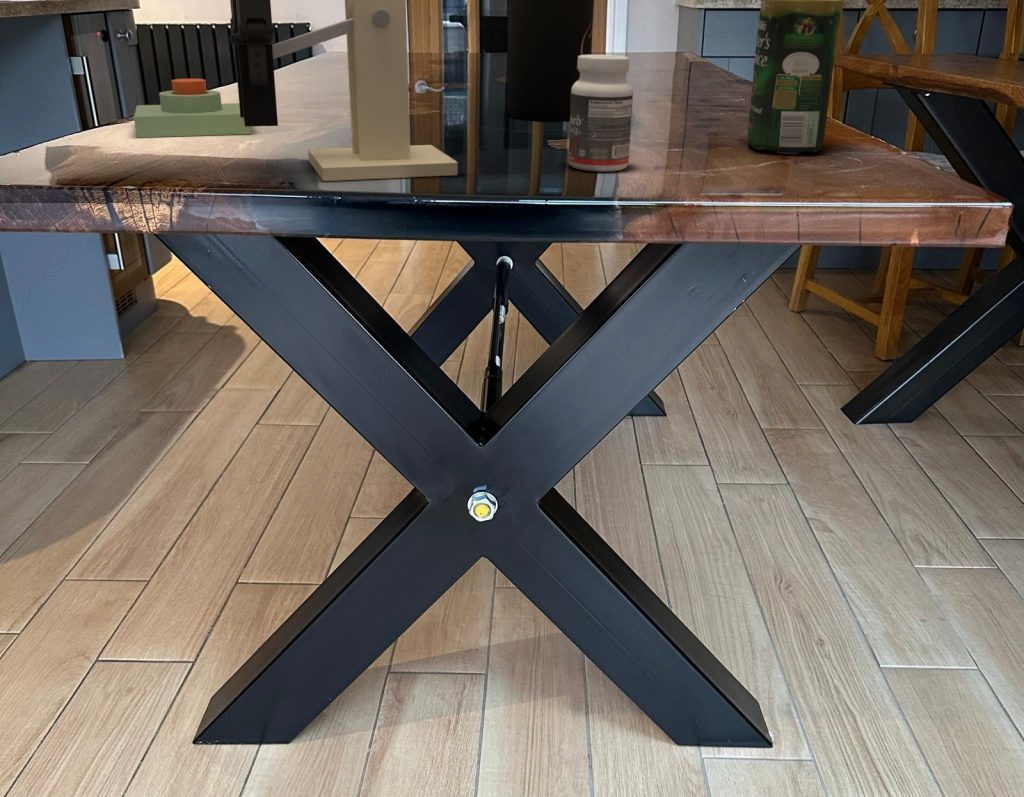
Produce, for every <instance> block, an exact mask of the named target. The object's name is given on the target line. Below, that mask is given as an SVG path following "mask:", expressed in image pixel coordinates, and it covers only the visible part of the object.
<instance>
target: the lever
mask: <svg viewBox="0 0 1024 797" xmlns="http://www.w3.org/2000/svg"><path fill="white" fill-rule="evenodd" d="M351 32H354V31H353V18H350V19H347V20H346V19H344V20H342V21H341V20H340V21H339V22H335V23H333V24H329V25H327V26H324V27H320V28H317V29H315V30H311V31H309V32H306V33H303V34H300V35H297V36H295V37H291V38H288V39H285V40H282V41H279V42H276V43H274V44H272V50H273V60H274V59H277V58H280V57H283V56H287V55H289V54H292V53H296V52H298V51H301V50H304V49H307V48H310V47H313V46H316V45H319V44H322V43H324V42H328V41H330V40H333V39H336V38H340V37H342V36H345V35H346V34H348V33H351Z"/></svg>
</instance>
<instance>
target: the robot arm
mask: <svg viewBox="0 0 1024 797" xmlns="http://www.w3.org/2000/svg"><path fill="white" fill-rule="evenodd" d="M229 3H230V4H229V5H230V13H231V14H230V15H231V18H230V19H229V20H230V25H231V29H232V30H231V31H232V33H229V41H230V44H233V46H234V47H233V48H234V60H235V69H236V81H237V82H236V83H237V94H238V103H239V106H240V117H241V118H244V125H245V127H248V126H251V127H279V121H278V120H279V119H278V108H277V92H276V91H277V90H276V80H275V77H276V76H275V67H274V66H275V64H274V59H273V50H272V45H273V44H272V40H273V36H274V33H275V26H274V24H273V18H272V17H273V16H272V15H273V14H272V2H271V0H229Z"/></svg>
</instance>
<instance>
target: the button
mask: <svg viewBox="0 0 1024 797" xmlns="http://www.w3.org/2000/svg"><path fill="white" fill-rule="evenodd" d="M171 88H172V91H173V94H175V95H199V94H207V91H206V90H207V82H206V79H203V78H176V79H172V80H171Z"/></svg>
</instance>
